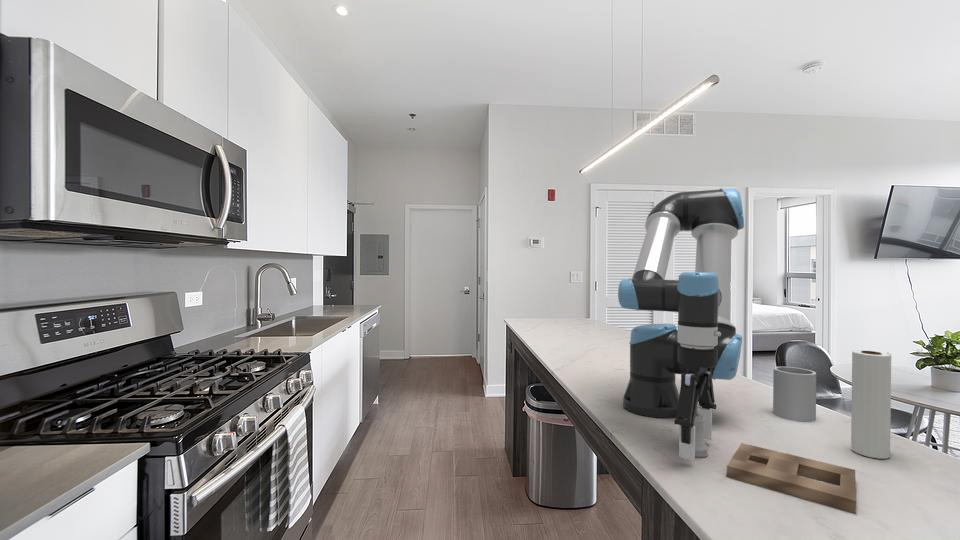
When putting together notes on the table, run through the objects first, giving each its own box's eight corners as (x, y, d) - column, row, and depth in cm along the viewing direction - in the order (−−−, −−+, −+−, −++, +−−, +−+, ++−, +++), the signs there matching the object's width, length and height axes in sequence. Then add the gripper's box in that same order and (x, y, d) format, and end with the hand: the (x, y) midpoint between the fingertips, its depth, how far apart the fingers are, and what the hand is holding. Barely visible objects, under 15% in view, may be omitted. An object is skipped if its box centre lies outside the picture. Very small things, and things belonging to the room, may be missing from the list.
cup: (818, 424, 107) (818, 376, 107) (774, 417, 112) (774, 371, 112) (813, 414, 115) (813, 369, 115) (772, 408, 120) (772, 365, 119)
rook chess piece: (711, 459, 87) (711, 419, 87) (687, 457, 88) (688, 418, 88) (704, 450, 91) (704, 412, 91) (681, 448, 92) (682, 411, 92)
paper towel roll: (859, 457, 88) (860, 353, 88) (845, 445, 94) (846, 348, 94) (903, 462, 86) (905, 356, 86) (887, 450, 91) (888, 351, 91)
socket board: (726, 476, 79) (726, 465, 79) (741, 452, 90) (741, 442, 90) (855, 513, 68) (856, 500, 68) (855, 480, 78) (855, 469, 78)
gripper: (701, 357, 77) (700, 474, 77) (730, 340, 96) (729, 435, 96) (658, 351, 82) (657, 462, 82) (694, 336, 101) (693, 427, 101)
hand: (696, 447), depth 89 cm, fingers open, 13 cm apart
